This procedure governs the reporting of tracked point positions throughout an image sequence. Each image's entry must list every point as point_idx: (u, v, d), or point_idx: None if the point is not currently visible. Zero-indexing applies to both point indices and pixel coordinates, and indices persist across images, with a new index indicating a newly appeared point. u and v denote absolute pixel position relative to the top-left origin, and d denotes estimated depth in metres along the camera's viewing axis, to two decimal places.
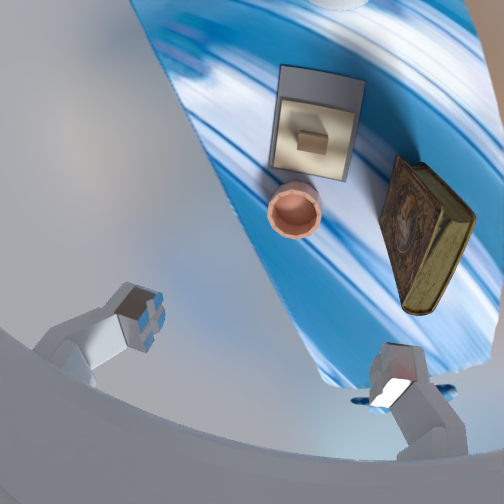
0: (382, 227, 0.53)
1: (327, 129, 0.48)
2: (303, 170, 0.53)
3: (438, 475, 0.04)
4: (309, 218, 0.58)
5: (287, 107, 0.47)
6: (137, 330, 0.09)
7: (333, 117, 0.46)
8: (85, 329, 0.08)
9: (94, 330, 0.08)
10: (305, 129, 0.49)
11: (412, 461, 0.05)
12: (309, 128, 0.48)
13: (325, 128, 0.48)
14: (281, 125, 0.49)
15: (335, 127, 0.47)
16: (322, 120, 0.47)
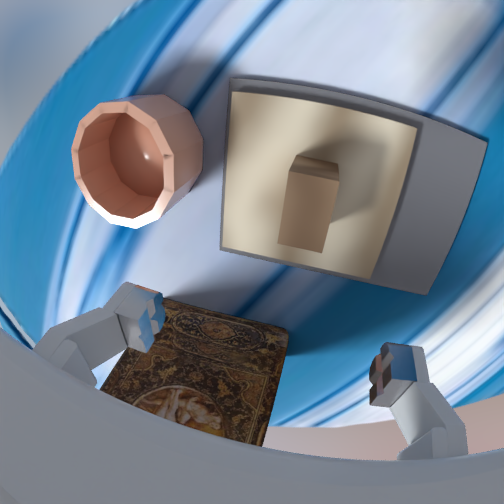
0: None
1: (338, 224, 0.22)
2: (230, 165, 0.21)
3: (438, 475, 0.04)
4: (129, 182, 0.25)
5: (398, 137, 0.17)
6: (137, 330, 0.09)
7: (365, 239, 0.22)
8: (84, 329, 0.08)
9: (94, 330, 0.08)
10: (338, 175, 0.20)
11: (412, 461, 0.05)
12: (342, 185, 0.20)
13: (341, 220, 0.21)
14: (350, 115, 0.17)
15: (342, 242, 0.22)
16: (359, 216, 0.21)
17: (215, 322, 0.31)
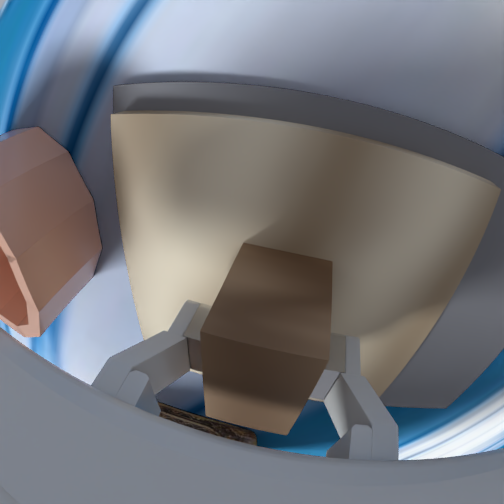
0: None
1: None
2: (130, 254, 0.11)
3: (438, 475, 0.04)
4: None
5: (463, 208, 0.07)
6: None
7: (370, 370, 0.12)
8: (153, 357, 0.07)
9: (162, 357, 0.08)
10: (332, 281, 0.10)
11: (412, 461, 0.05)
12: (338, 298, 0.10)
13: None
14: (366, 157, 0.07)
15: None
16: (365, 343, 0.11)
17: None
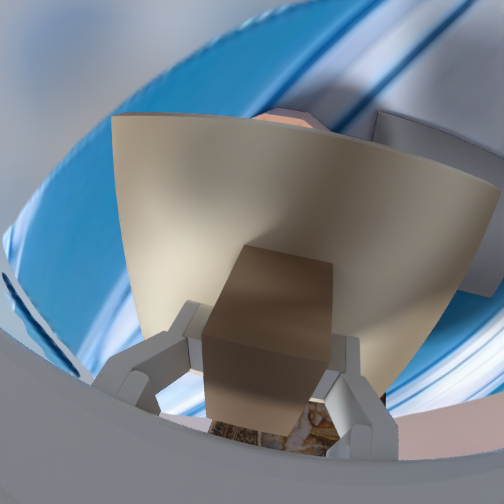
0: None
1: None
2: (131, 255, 0.11)
3: (438, 475, 0.04)
4: None
5: (464, 210, 0.07)
6: None
7: (370, 371, 0.12)
8: (153, 357, 0.07)
9: (162, 357, 0.08)
10: (332, 283, 0.10)
11: (412, 461, 0.05)
12: (338, 300, 0.10)
13: None
14: (367, 160, 0.07)
15: None
16: (366, 345, 0.11)
17: None
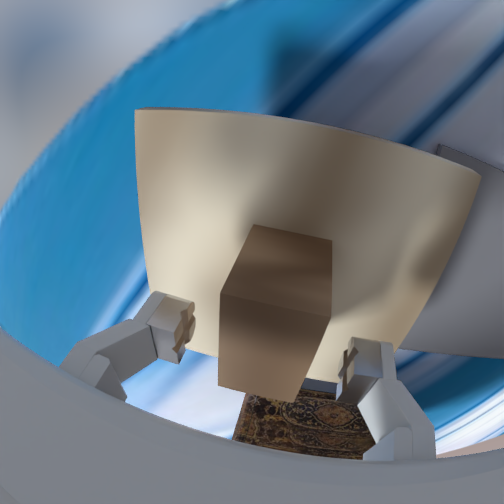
0: (261, 412, 0.24)
1: (327, 329, 0.13)
2: (148, 237, 0.13)
3: (438, 475, 0.04)
4: None
5: (447, 192, 0.08)
6: (172, 342, 0.09)
7: None
8: (116, 343, 0.08)
9: (126, 343, 0.08)
10: (332, 259, 0.11)
11: (412, 461, 0.05)
12: (337, 275, 0.11)
13: (333, 325, 0.13)
14: (360, 149, 0.09)
15: (333, 350, 0.14)
16: (364, 320, 0.12)
17: (329, 405, 0.24)
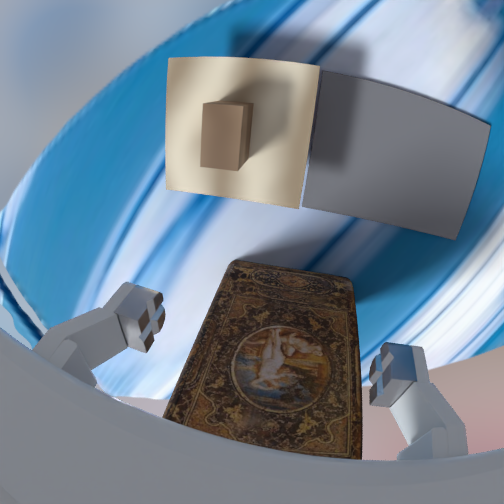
0: (235, 277, 0.35)
1: (260, 156, 0.24)
2: (169, 116, 0.24)
3: (438, 475, 0.04)
4: None
5: (303, 75, 0.20)
6: (137, 330, 0.09)
7: (287, 168, 0.25)
8: (85, 329, 0.08)
9: (94, 330, 0.08)
10: (255, 112, 0.22)
11: (412, 461, 0.05)
12: (259, 121, 0.23)
13: (262, 153, 0.24)
14: (260, 63, 0.20)
15: (267, 173, 0.25)
16: (278, 147, 0.24)
17: (289, 275, 0.36)
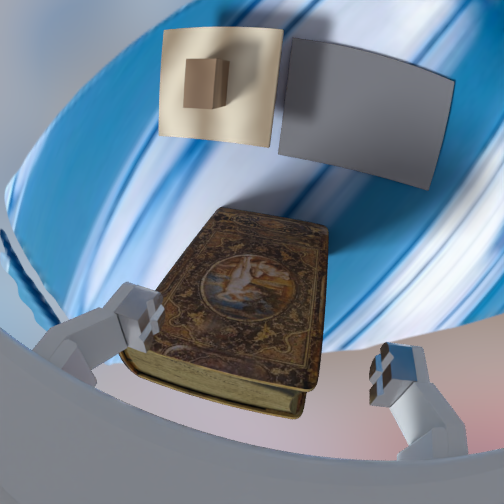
0: (218, 218, 0.38)
1: (235, 103, 0.27)
2: (163, 75, 0.27)
3: (438, 475, 0.04)
4: None
5: (269, 37, 0.23)
6: (138, 330, 0.09)
7: (257, 112, 0.28)
8: (85, 329, 0.08)
9: (94, 330, 0.08)
10: (231, 68, 0.25)
11: (412, 461, 0.05)
12: (234, 75, 0.26)
13: (237, 100, 0.27)
14: (234, 30, 0.23)
15: (241, 117, 0.28)
16: (250, 95, 0.27)
17: (268, 220, 0.39)
